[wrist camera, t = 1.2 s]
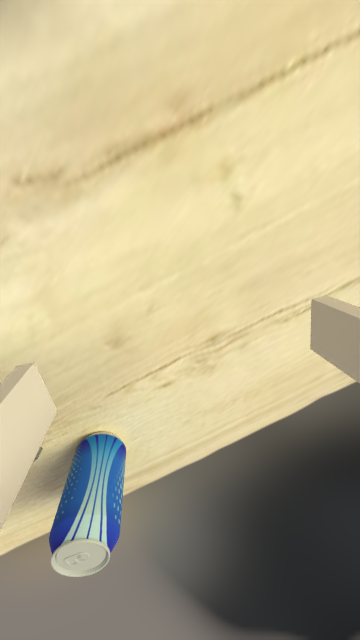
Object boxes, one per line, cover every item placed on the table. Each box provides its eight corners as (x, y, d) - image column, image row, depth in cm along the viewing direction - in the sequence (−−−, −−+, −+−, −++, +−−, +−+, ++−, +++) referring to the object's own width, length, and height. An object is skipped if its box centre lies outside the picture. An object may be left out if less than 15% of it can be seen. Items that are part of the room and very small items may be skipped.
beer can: (83, 424, 41) (49, 534, 26) (132, 431, 43) (126, 538, 28) (73, 460, 43) (35, 581, 28) (119, 466, 45) (108, 582, 30)
